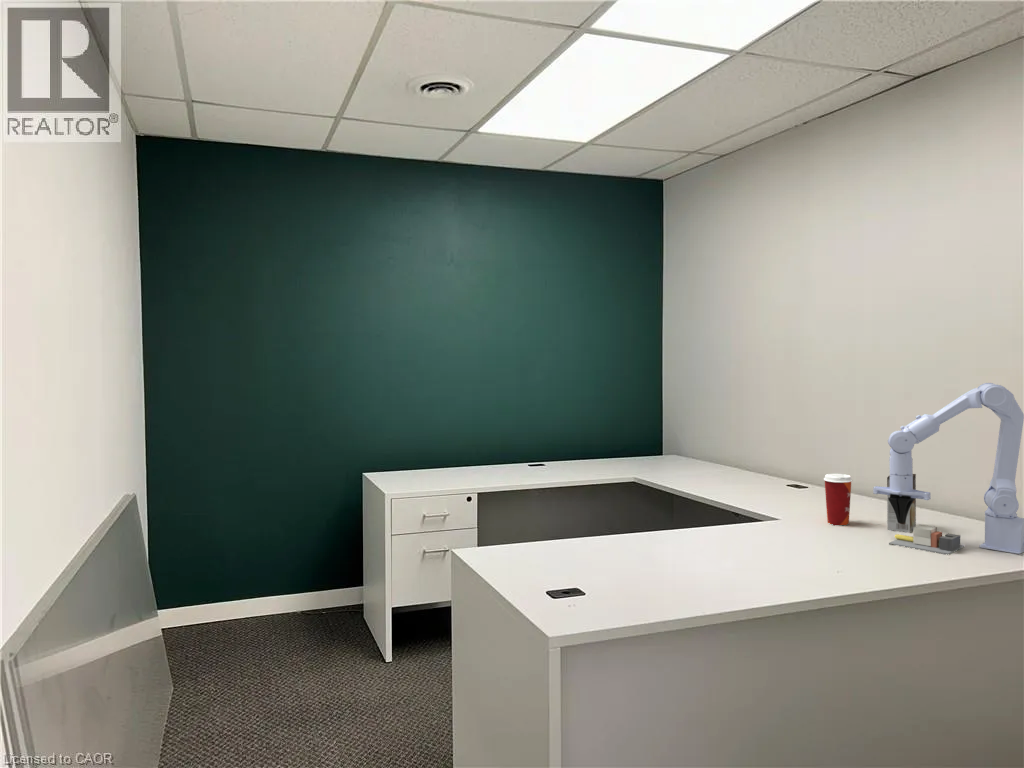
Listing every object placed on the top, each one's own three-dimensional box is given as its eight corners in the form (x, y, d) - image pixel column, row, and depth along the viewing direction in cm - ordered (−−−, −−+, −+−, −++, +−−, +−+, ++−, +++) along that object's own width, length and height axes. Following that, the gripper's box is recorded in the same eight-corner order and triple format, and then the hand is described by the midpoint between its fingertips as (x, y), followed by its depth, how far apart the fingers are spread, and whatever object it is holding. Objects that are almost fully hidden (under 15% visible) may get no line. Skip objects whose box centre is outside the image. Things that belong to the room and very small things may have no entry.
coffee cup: (857, 526, 226) (857, 477, 225) (830, 527, 226) (829, 478, 225) (845, 520, 234) (845, 472, 233) (819, 520, 234) (819, 473, 233)
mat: (963, 546, 201) (963, 545, 201) (948, 554, 194) (948, 553, 194) (905, 537, 212) (905, 535, 212) (888, 544, 205) (888, 542, 205)
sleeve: (937, 543, 203) (937, 527, 202) (930, 546, 200) (930, 530, 200) (919, 540, 206) (919, 524, 206) (913, 543, 203) (913, 527, 203)
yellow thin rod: (944, 546, 200) (944, 541, 200) (942, 547, 199) (942, 542, 199) (895, 538, 210) (895, 533, 209) (893, 539, 209) (893, 534, 209)
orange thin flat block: (942, 545, 201) (942, 531, 201) (936, 547, 199) (936, 534, 199) (936, 544, 203) (936, 531, 202) (930, 546, 200) (930, 533, 200)
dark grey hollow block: (960, 547, 199) (960, 535, 199) (951, 551, 195) (951, 539, 195) (944, 544, 202) (944, 532, 202) (935, 548, 198) (935, 536, 198)
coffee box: (892, 523, 228) (892, 471, 227) (916, 526, 224) (916, 473, 223) (886, 530, 220) (886, 476, 220) (910, 533, 216) (910, 478, 216)
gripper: (868, 473, 210) (868, 520, 210) (922, 478, 199) (923, 529, 199) (879, 469, 214) (879, 516, 215) (933, 475, 203) (933, 524, 204)
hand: (901, 522), depth 208 cm, fingers closed
